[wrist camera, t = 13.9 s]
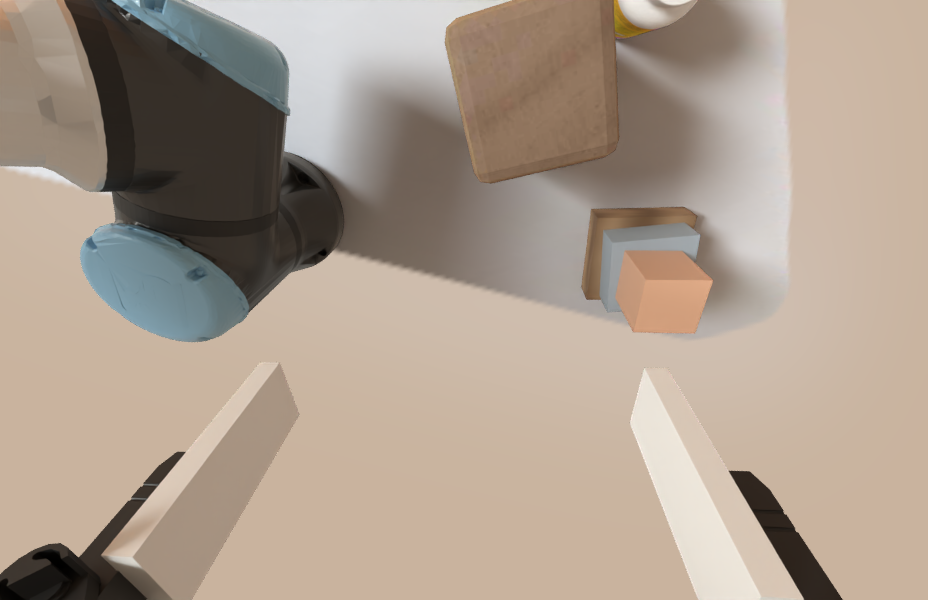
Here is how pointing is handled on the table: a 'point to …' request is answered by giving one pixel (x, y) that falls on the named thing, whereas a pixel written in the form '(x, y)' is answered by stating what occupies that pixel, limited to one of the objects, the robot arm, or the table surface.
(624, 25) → the supplement bottle
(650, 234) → the block
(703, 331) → the table surface
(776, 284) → the table surface
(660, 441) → the robot arm
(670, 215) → the tower base
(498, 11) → the block
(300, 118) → the table surface
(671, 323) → the stack block
